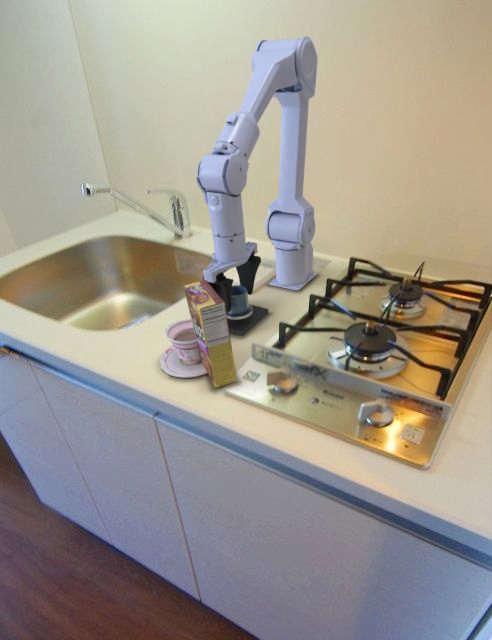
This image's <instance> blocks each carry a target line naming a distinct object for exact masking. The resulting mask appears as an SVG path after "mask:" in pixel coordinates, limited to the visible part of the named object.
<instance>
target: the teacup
mask: <svg viewBox="0 0 492 640" xmlns="http://www.w3.org/2000/svg"><path fill="white" fill-rule="evenodd" d="M164 335H165V337H166V338H167V340H168V341H169V342H170V343H171V344H172V346H170V347H169V348H167V349H166V350H165V351H164V352H163V354H162V355H161V356H160V361H159V364H160V366H161V370H162V371H164V372H165V373H166V374H167V375H170V376H172V377H175V378H181V379H182V378H183V379H188V378H198V377H200V376H205V375H208V373H207V371H206V369H205V368H204V366H203V364H202V363H201V360H200V359H201V358H200V354H199V350H198V342H197V340H196V339H195V334H194V330H193V325H192V321H191V318H184V319H180V320H176V321H173V322H171V323H170V324H169V325H167V326H166V328H165V329H164ZM181 360H182V361H185V362H186V363H188V364H195V365H185V364H183V363H182V362H181ZM199 362H200V363H199Z"/></svg>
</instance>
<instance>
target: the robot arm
mask: <svg viewBox="0 0 492 640" xmlns="http://www.w3.org/2000/svg"><path fill="white" fill-rule="evenodd" d="M251 69H252V70H251V72H252V75H251V78H250V81H249V83H248V85H247V89H246V91H245V94H244V95H243V99H242V102H241V105H240V107H239V110H238V111H233V112H231V113H230V114H228V115H227V117H226V120H225V123H224V125H223V127H222V130H221V131H220V133H219V136H218V138H217V140H216V142H215V144H214V146H213V148H212V151H211V153H207V154H205V155H204V156H203V158H201V159H200V161H199V163H198V165H197V171H196V172H197V173H196V174H197V176H196V177H195V180H196V184H197V186H198V188H199V190H200V191H201V192H202V194H203V200H204V202H205V204H206V205H207V208H208V214H209V220H210V227H211V234H212V242H213V248H214V252H213V253H212V254H211V258H212V260H211V261H210V263H209V264H208V266H207V267H206V268H204V270H202V274H203V275H202V281H204V280H207V282H208V283H209V285H210V286H211V287H212V288H213V289H214V291H215V292H216V293H217V294H218V296H219V297H220V298H221V299H222V300H223V301H224V303H225V309H226V312H230V311H231V288H232V286H233V283H234V279H232V278H228V277H227V276H226V275H225V273H226V272H228V271H229V270H232V269H233V268H236V272H237V276H238V280H239V285H240V286H244V287H246V288H247V293H248V296H251V295H253V293H254V287H255V282H256V276H257V272H258V269H259V267H260V265H261V263H262V257H261V256H259V255H257V254H258V253H259V252H258V251H259V250H258V242H254V241H246V233H245V231H246V230H245V222H244V213H243V212H244V210H243V198H242V193H243V192H244V189H245V188H246V186H247V181H248V171H249V168H250V167H249V165H250V163H249V160H250V158H251V155H252V153H253V151H254V149H255V147H256V145H257V142H258V141H259V138H260V135H261V132H260V127H259V125H258V123H259V122H260V120H261V119H262V117H263V114H264V113H265V111H266V110H267V108H268V106H269V104H270V103H271V100H272V99H273V98H275V99H276V100H277V101H278V103H279V104H280V107H281V119H280V120H281V121H280V122H281V123H280V146H279V170H278V171H279V173H278V174H279V175H278V197H276V198H275V199H274V200H273V201H272V202H271V203H270V204H268V206H267V214H266V215H267V216H266V220H265V223H264V232H265V234H266V237H267V239H268V240H269V241H271V246H274V262H275V276H274V278H273V279H272V280H270V281H269V282H268V285H269V286H274V287H278V288H281V289H282V288H283V289H288V290H292V291H300V290H301V289H302V288H304V287H305V286H306V285H307V284H308V283H309V282H310V281H312V279H314V278H315V277H316V276H317V272H315V271H314V246H313V244H312V241H313V239H314V238H315V233H316V221H315V207H314V206H313V205H312V204H311V203H310V202H309V201H308V200H307V199H306V198H305V197H304V185H305V184H304V182H305V169H306V168H305V167H306V166H305V165H306V154H307V153H306V152H307V139H308V138H307V137H308V124H309V123H308V122H309V121H308V120H309V108H310V107H309V106H310V100H311V99H312V98H313V97H315V94H316V86H317V73H318V54H317V51H316V47H315V44H314V42H313V40H312V39H311V38H310V37H309V36H307V35H306V36H302V37H296V38H295V37H294V38H284V39H283V38H282V39H272V40H270V39H269V40H267V39H261V40H259V41H258V42H257V43H256V46H255V48H254V51H253V54H252V55H251Z"/></svg>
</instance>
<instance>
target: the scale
mask: <svg viewBox="0 0 492 640" xmlns="http://www.w3.org/2000/svg"><path fill="white" fill-rule="evenodd" d="M250 305H251V306H252V308H253V313H252V314H251V315H250V316H249V317H247V318H244V319H239V320H233V319H228V318H227V321H228V328H229V334H231V335H235V336H238V337H244V336H245V335H246V334H247V333H249V331H251V330H252V329H253V328H255V326H256V325H257V324H259V323H260V322H261V321H262V320H264V318H265V317H266V316H268V315H269V308H266V307H262V306H259V305H258V306H257V305H254V304H250Z"/></svg>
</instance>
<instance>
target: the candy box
mask: <svg viewBox="0 0 492 640" xmlns="http://www.w3.org/2000/svg"><path fill="white" fill-rule="evenodd" d="M183 290H184V294H185V298H186V302H187V308H188V311H189V315H190V319H191V321H192V325H193V330H194V334H195V339H196V340H197V342H198V350H199V354H200V358H201V359H200V360H201V361H200V364H201V363H202V364H203V366H204V368H205V369H206V371H207V375H208V377H209V378H210V380H211V382H212V384H213V386H214V388H215V389H217V388H221V387H224V386H227V385H230V384H234V383H236V382H237V381H238V380H237V374H236V367H235V359H234V353H233V347H232V341H231V335H230V334H231V333H229V328H228V321H227V315H226V309H225V303H224V301H223V300H222V299H221V298H220V297H219V296H218V294H217V293H216V292H215V291H214V289H213V288H212V287H211V286H210V285H209V283H208V282H207V280H204V281H203V280H201V281H196V282H191V283H189V284H185V285H183Z"/></svg>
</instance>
